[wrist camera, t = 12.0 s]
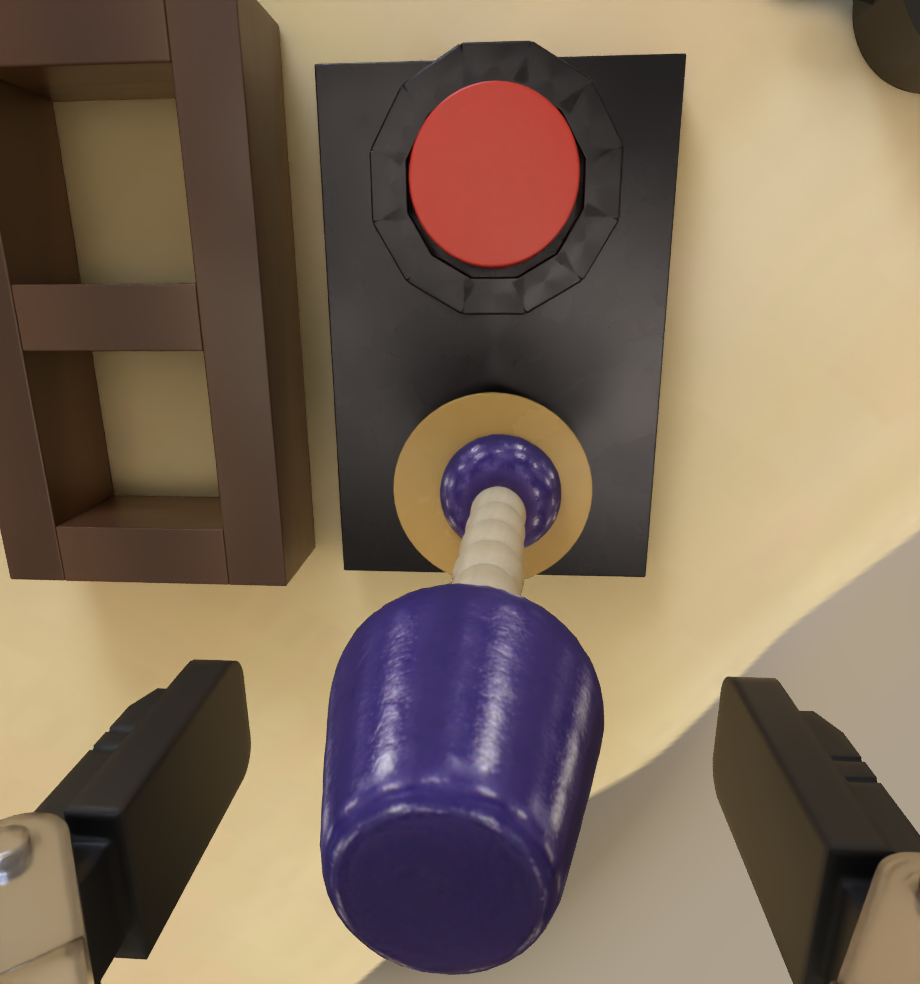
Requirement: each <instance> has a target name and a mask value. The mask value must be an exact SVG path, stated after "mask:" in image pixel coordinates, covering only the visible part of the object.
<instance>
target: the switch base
mask: <svg viewBox="0 0 920 984" xmlns="http://www.w3.org/2000/svg"><path fill="white" fill-rule="evenodd" d="M685 64H686V54H651V55H616V56H581V57H557V56H555V55H554V54H552V53H550V52H549V51H547V50H546V49H544V48H543V47H541V46H539V45H538V44H536V43H535V42H531V41H502V42H469V43H461V45H460V44H459V45H457V46H456V47H454V48H453V49H451V50H450V51H448V52H447V53H445V54H444V55H443V56H441V57H440V58H438V59H437V60H435V61H406V62H371V63H336V64H315V80H316V97H317V114H318V131H319V148H320V165H321V183H322V200H323V217H324V234H325V251H326V269H327V286H328V303H329V320H330V337H331V355H332V372H333V389H334V406H335V423H336V441H337V458H338V475H339V492H340V509H341V527H342V544H343V561H344V570H361V571H405V572H445V571H443V570H441V569H440V568H438V567H437V566H435V565H433V564H432V563H431V562H430V561H428V560H427V559H426V558H425V557H424V556H423V555H422V554H421V553H420V552H419V551H418V550H417V549H416V548H415V547H414V545H413V544H412V542H411V541H410V540H409V538H408V537H407V535H406V533H405V531H404V529H403V528H402V525H401V523H400V520H399V518H398V515H397V511H396V506H395V501H394V491H393V490H394V475H395V469H396V465H397V462H398V458H399V455H400V453H401V451H402V449H403V446H404V444H405V442H406V441H407V439H408V438H409V436H410V435H411V433H412V432H413V430H414V429H415V428H416V427H417V426H418V425H419V424H420V422H421V421H422V420H423V419H425V418H426V417H427V416H428V415H429V414H430V413H432V412H433V411H435V410H436V409H438V408H439V407H440V406H442V405H444V404H446V403H448V402H450V401H452V400H454V399H457V398H460V397H463V396H466V395H472V394H477V393H487V392H498V393H508V394H513V395H518V396H522V397H525V398H527V399H530V400H533V401H535V402H537V403H539V404H541V405H543V406H545V407H546V408H548V409H549V410H551V411H552V412H554V413H555V414H556V415H557V416H558V417H559V418H561V419H562V420H563V421H564V422H565V423H566V424H567V425H568V427H569V428H570V429H571V430H572V431H573V432H574V434H575V436H576V437H577V439H578V440H579V442H580V443H581V446H582V448H583V450H584V452H585V454H586V457H587V460H588V463H589V466H590V471H591V477H592V501H591V508H590V512H589V515H588V519H587V521H586V524H585V526H584V529H583V531H582V532H581V534H580V536H579V538H578V539H577V541H576V542H575V543H574V545H573V546H572V547H571V549H570V550H569V551H568V552H567V553H566V554H565V555H564V556H563V557H562V558H561V559H560V560H559V561H557V562H556V563H555V564H553V565H552V566H551V567H549V568H548V569H546V570H544V571H542V572H541V573H539V574H536V575H580V576H624V577H645V576H646V563H647V551H648V538H649V525H650V512H651V499H652V487H653V474H654V461H655V448H656V435H657V423H658V410H659V397H660V384H661V371H662V359H663V346H664V333H665V320H666V307H667V295H668V282H669V269H670V256H671V243H672V230H673V218H674V205H675V192H676V179H677V166H678V154H679V141H680V128H681V115H682V102H683V90H684V77H685ZM485 81H508V82H513V83H518V84H520V85H523V86H526V87H529V88H530V89H532V90H534V91H536V92H538V93H540V94H541V95H542V96H544V97H545V98H546V99H548V100H549V101H550V102H551V103H552V104H553V105H554V106H555V107H556V108H557V109H558V111H559V112H560V113H561V115H562V116H563V117H564V119H565V120H566V122H567V124H568V126H569V127H570V129H571V132H572V134H573V137H574V139H575V142H576V146H577V150H578V155H579V162H580V180H579V189H578V193H577V198H576V201H575V204H574V207H573V210H572V212H571V214H570V216H569V218H568V220H567V222H566V224H565V225H564V227H563V228H562V230H561V231H560V233H559V234H558V235H557V236H556V237H555V239H554V240H553V241H552V242H551V243H550V244H549V245H548V246H547V247H546V248H545V249H544V250H543V251H542V252H540V253H539V254H538V255H536V256H535V257H533V258H532V259H530V260H528V261H526V262H524V263H521V264H518V265H516V266H512V267H508V268H501V269H486V268H480V267H475V266H472V265H469V264H466V263H464V262H462V261H460V260H458V259H456V258H454V257H452V256H451V255H449V254H448V253H447V252H445V251H444V250H442V249H441V248H440V247H439V246H438V245H437V244H436V243H435V242H434V241H433V240H432V239H431V238H430V236H429V235H428V234H427V233H426V231H425V230H424V228H423V227H422V225H421V223H420V221H419V219H418V217H417V215H416V213H415V210H414V207H413V204H412V200H411V195H410V189H409V164H410V157H411V152H412V149H413V145H414V142H415V140H416V137H417V135H418V132H419V130H420V129H421V127H422V125H423V123H424V122H425V120H426V119H427V117H428V116H429V115H430V113H431V112H432V111H433V110H434V109H435V108H436V107H437V106H438V105H439V104H440V103H441V102H442V101H443V100H444V99H446V98H447V97H448V96H450V95H451V94H453V93H455V92H456V91H458V90H460V89H462V88H464V87H467V86H469V85H472V84H476V83H480V82H485Z"/></svg>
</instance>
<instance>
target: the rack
mask: <svg viewBox="0 0 920 984" xmlns="http://www.w3.org/2000/svg"><path fill="white" fill-rule="evenodd" d="M152 98H176V106H177V115H178V124H179V133H180V142H181V151H182V160H183V169H184V178H185V187H186V196H187V205H188V214H189V223H190V232H191V241H192V250H193V260H194V269H195V278H196V283H178V284H81V283H80V277H79V271H78V264H77V258H76V252H75V245H74V239H73V232H72V226H71V220H70V213H69V207H68V201H67V194H66V188H65V181H64V175H63V169H62V162H61V156H60V150H59V143H58V137H57V130H56V124H55V118H54V111H53V105H52V100H53V101H74V100H113V99H152ZM91 351H204V359H205V368H206V377H207V386H208V395H209V404H210V413H211V422H212V431H213V440H214V449H215V458H216V468H217V477H218V486H219V495H220V497H162V496H114V494H113V488H112V481H111V475H110V468H109V462H108V456H107V449H106V443H105V437H104V430H103V424H102V417H101V411H100V405H99V398H98V392H97V385H96V379H95V373H94V366H93V360H92V354H91ZM0 530H1V535H2V539H3V544H4V549H5V554H6V558H7V563H8V568H9V573H10V578H11V579H31V580H67V581H105V582H146V583H186V584H227V585H228V584H230V585H267V586H287V584H288V583H289V582H290V580H291V579H292V578H293V576H294V575H295V574H296V572H297V571H298V570H299V568H300V567H301V566H302V564H303V563H304V562H305V560H306V559H307V558H308V556H309V555H310V554H311V552H312V551H313V550H314V548H315V536H314V521H313V507H312V493H311V479H310V465H309V450H308V436H307V422H306V408H305V394H304V379H303V365H302V351H301V337H300V323H299V308H298V294H297V280H296V266H295V252H294V237H293V223H292V209H291V195H290V180H289V166H288V152H287V138H286V124H285V109H284V95H283V81H282V67H281V53H280V38H279V26H278V24H277V23H276V22H275V21H274V19H273V18H272V17H271V16H270V15H269V14H268V13H267V11H266V10H265V9H264V8H263V7H262V6H261V5H260V3H259V2H258V1H257V0H0Z"/></svg>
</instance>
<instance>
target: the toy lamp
mask: <svg viewBox="0 0 920 984" xmlns="http://www.w3.org/2000/svg"><path fill="white" fill-rule="evenodd" d="M440 501H441V506H442V510H443V512H444V515H445V518H446V520H447V521H448V523H449V525H450V526H451V528H452V529H453V530H454V532H455V533H456V534H457V535H458V536H459V537H460V538H461V539H462V540H461V543H460V547H459V556H458V558H457V560H456V562H455V565H454V569H453V575H452V580H453V581H452V583H451V584H445V585H439V586H434V587H430V588H422V589H419V590H417V591H414V592H410V593H407V594H405V595H403V596H401V597H399V598H397V599H395V600H394V601H391V602H389V603H388V604H386V605H384V606H383V607H382V608H380V609H379V610H378V611H376V612H374V613H373V614H372V615H371V616H370V617H369V618H367V619H366V620H365V621H364V622H363V623H362V624H361V626H360V627H359V628H358V629H357V630H356V631H355V633H354V635H353V636H352V638H351V639H350V641H349V642H348V644H347V646H346V647H345V649H344V651H343V653H342V655H341V657H340V660H339V662H338V665H337V668H336V671H335V674H334V678H333V682H332V686H331V692H330V698H329V707H328V718H327V735H326V746H325V756H324V771H323V797H322V810H321V835H320V850H321V860H322V874H323V878H324V882H325V886H326V890H327V894H328V896H329V898H330V901H331V903H332V905H333V907H334V909H335V911H336V913H337V915H338V916H339V918H340V919H341V920H342V922H343V923H344V925H345V926H346V927H347V929H348V930H349V931H350V932H351V933H352V934H353V935H354V936H355V937H357V938H358V939H359V940H360V941H361V942H362V943H364V944H365V945H366V946H367V947H368V948H370V949H371V950H372V951H374V952H375V953H377V954H378V955H380V956H381V957H383V958H385V959H387V960H390V961H392V962H394V963H396V964H398V965H400V966H404V967H408V968H411V969H415V970H418V971H422V972H429V973H440V974H448V975H449V974H450V975H454V974H455V975H456V974H470V973H475V972H481V971H486V970H489V969H491V968H494V967H497V966H499V965H502V964H504V963H507V962H509V961H510V960H512V959H513V958H515V957H516V956H518V955H520V954H522V953H523V952H524V951H525V950H526V949H528V948H529V947H530V946H531V945H532V944H533V943H534V942H535V941H536V940H537V938H539V936H540V935H541V934H542V933H543V931H544V930H545V929H546V927H547V925H548V924H549V922H550V920H551V918H552V916H553V914H554V912H555V911H556V909H557V907H558V905H559V903H560V900H561V897H562V894H563V891H564V887H565V883H566V880H567V876H568V873H569V869H570V865H571V861H572V858H573V854H574V851H575V847H576V843H577V840H578V836H579V832H580V829H581V824H582V820H583V816H584V812H585V809H586V805H587V801H588V798H589V794H590V791H591V786H592V782H593V778H594V773H595V769H596V765H597V761H598V757H599V753H600V748H601V743H602V738H603V732H604V707H603V699H602V693H601V687H600V684H599V681H598V677H597V675H596V672H595V669H594V667H593V664H592V662H591V660H590V658H589V656H588V655H587V654H586V652H585V651H584V649H583V648H582V646H581V645H580V643H579V641H578V640H577V638H576V637H575V636H574V635H573V634H572V633H571V632H570V631H569V629H568V628H567V627H566V626H565V625H564V624H563V623H561V622H560V621H559V620H558V619H557V618H556V617H555V616H553V615H552V614H551V613H549V612H548V611H547V610H546V609H544V608H543V607H541V606H539V605H537V604H535V603H533V602H531V601H530V600H528V599H526V598H525V597H522V596H521V592H522V589H523V584H524V572H523V568H522V567H523V563H524V558H525V549H524V548H526V547H529V546H530V545H532V544H534V543H535V542H537V541H538V540H539V539H540V538H541V537H543V536H544V535H545V534H546V533H547V531H548V530H549V529H550V528H551V526H552V525H553V523H554V521H555V520H556V518H557V515H558V512H559V509H560V504H561V483H560V478H559V474H558V471H557V469H556V468H555V466H554V464H553V462H552V461H551V459H550V458H549V457H548V456H547V455H546V454H545V453H544V451H542V450H541V449H540V448H538V447H537V446H535V445H533V444H532V443H530V442H529V441H527V440H525V439H522V438H520V437H516V436H511V435H505V434H491V435H488V436H484V437H480V438H477V439H475V440H474V441H471V442H469V443H468V444H466V445H465V446H463V447H462V448H461V449H459V450H458V451H457V452H456V453H455V454H454V455H453V457H452V458H451V459H450V461H449V463H448V464H447V466H446V468H445V471H444V473H443V476H442V481H441V487H440Z"/></svg>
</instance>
